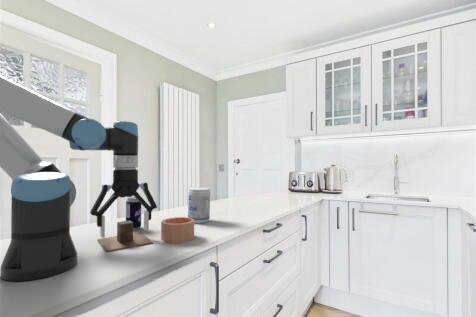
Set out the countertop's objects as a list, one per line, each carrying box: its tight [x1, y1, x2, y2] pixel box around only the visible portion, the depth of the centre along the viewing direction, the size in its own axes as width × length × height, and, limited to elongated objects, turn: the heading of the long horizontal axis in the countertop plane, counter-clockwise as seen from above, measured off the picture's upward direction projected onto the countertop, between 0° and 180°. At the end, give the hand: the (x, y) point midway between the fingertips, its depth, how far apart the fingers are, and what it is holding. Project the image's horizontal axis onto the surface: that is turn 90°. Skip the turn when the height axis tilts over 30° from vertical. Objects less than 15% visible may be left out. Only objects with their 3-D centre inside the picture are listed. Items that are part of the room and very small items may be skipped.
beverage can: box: [125, 196, 142, 231], centre depth 103 cm, size 6×6×12 cm
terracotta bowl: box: [160, 216, 195, 244], centre depth 91 cm, size 11×11×6 cm
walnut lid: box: [97, 220, 154, 253], centre depth 86 cm, size 14×14×7 cm
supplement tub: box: [187, 186, 211, 224], centre depth 116 cm, size 10×10×15 cm
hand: (125, 233), depth 86 cm, fingers open, 13 cm apart
